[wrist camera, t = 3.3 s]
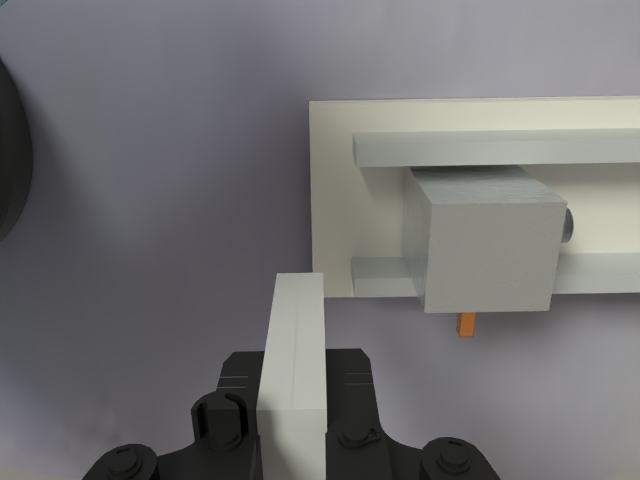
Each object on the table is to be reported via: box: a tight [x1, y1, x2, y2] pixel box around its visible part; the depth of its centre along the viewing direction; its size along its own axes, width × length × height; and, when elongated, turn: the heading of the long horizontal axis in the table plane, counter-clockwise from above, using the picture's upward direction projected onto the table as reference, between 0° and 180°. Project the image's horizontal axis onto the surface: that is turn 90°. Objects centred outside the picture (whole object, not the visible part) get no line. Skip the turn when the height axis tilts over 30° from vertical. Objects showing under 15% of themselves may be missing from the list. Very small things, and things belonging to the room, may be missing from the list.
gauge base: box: [309, 96, 640, 298], centre depth 24 cm, size 24×10×8 cm, turn 91°
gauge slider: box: [401, 164, 574, 337], centre depth 24 cm, size 7×7×6 cm
